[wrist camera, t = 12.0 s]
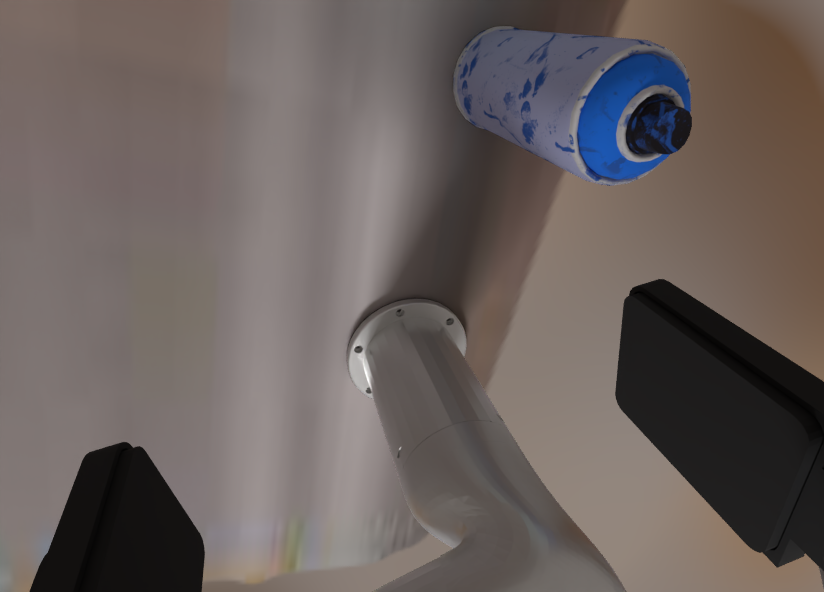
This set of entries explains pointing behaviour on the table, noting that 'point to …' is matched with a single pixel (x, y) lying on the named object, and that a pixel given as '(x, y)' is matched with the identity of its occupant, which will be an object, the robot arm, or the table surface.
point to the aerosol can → (577, 99)
